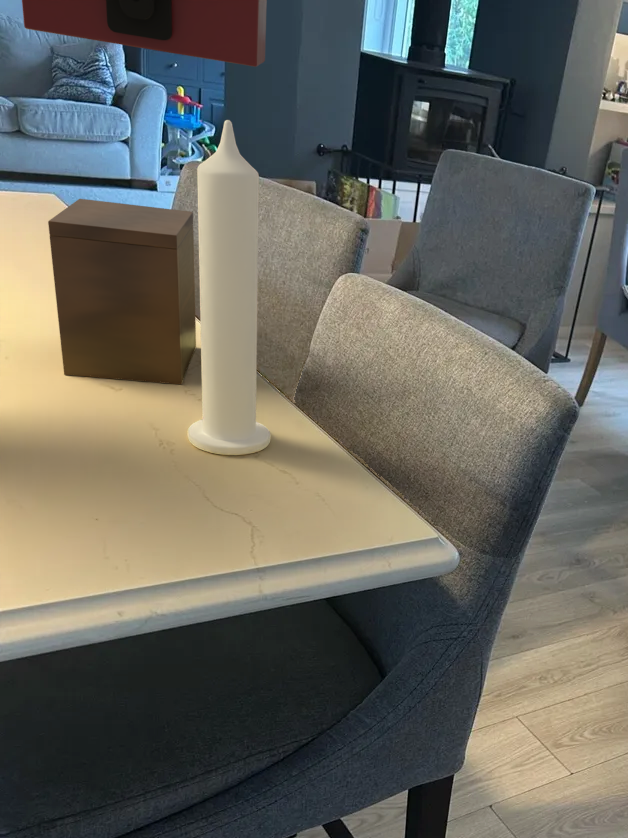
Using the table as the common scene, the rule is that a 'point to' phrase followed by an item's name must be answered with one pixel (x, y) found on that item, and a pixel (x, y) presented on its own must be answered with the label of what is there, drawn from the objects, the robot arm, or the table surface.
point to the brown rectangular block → (124, 290)
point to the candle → (228, 302)
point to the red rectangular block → (191, 27)
